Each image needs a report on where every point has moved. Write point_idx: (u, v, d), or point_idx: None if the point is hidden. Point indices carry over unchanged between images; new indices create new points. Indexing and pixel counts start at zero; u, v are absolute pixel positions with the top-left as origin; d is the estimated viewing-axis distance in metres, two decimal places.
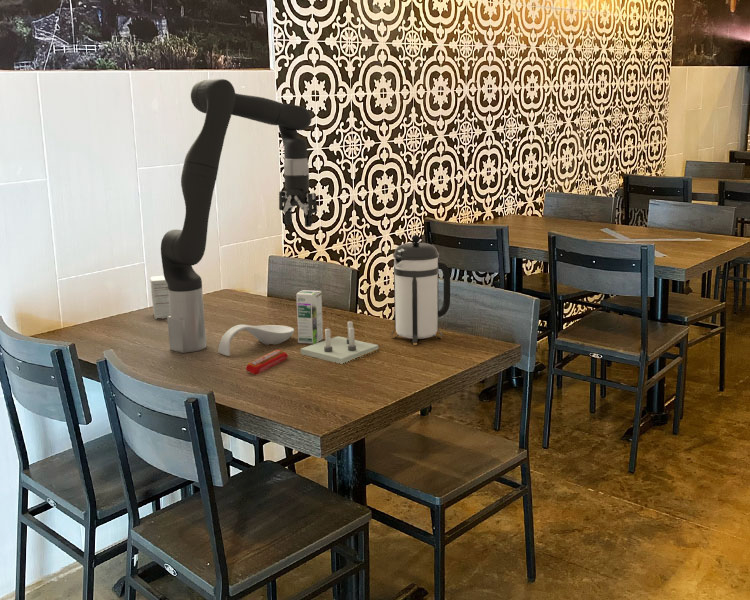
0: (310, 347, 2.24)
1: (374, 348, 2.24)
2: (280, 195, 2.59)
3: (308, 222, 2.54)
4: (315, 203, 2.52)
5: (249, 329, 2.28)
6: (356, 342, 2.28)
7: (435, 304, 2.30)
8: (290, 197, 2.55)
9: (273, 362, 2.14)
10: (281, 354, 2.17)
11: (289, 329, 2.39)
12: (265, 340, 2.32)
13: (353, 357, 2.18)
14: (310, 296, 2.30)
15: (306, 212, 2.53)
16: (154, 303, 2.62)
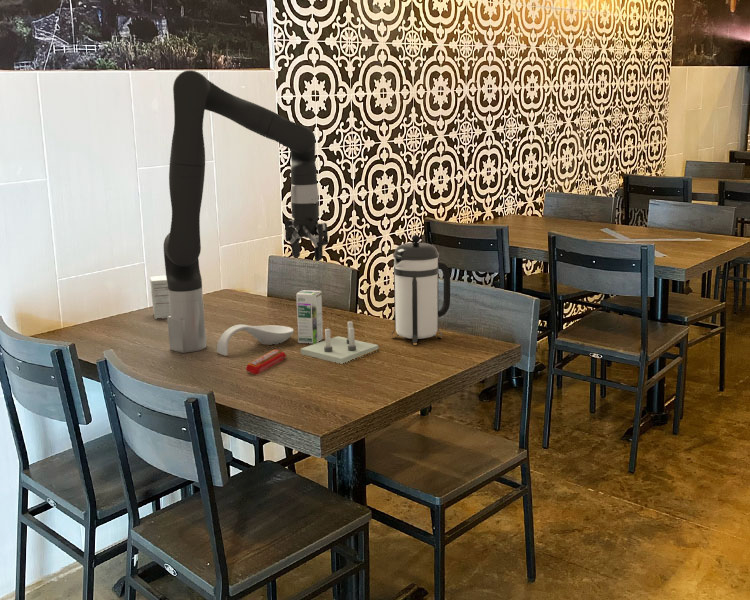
0: (310, 347, 2.24)
1: (374, 348, 2.24)
2: (286, 224, 2.31)
3: (318, 255, 2.26)
4: (326, 234, 2.25)
5: (247, 329, 2.28)
6: (356, 342, 2.28)
7: (435, 304, 2.30)
8: (298, 227, 2.27)
9: (272, 362, 2.14)
10: (280, 354, 2.17)
11: (289, 329, 2.38)
12: (264, 340, 2.31)
13: (353, 357, 2.18)
14: (310, 296, 2.30)
15: (316, 244, 2.25)
16: (154, 303, 2.62)
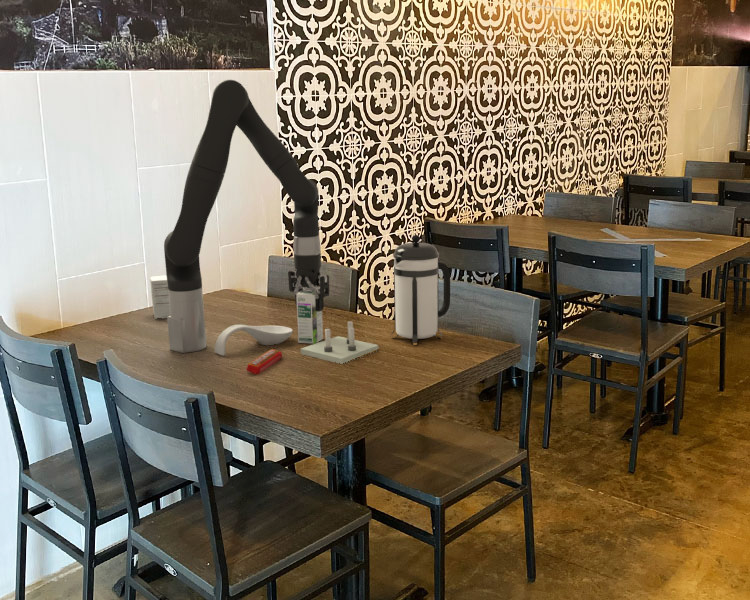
0: (310, 347, 2.24)
1: (374, 348, 2.24)
2: (289, 275, 2.35)
3: (319, 306, 2.30)
4: (327, 286, 2.28)
5: (246, 329, 2.28)
6: (356, 342, 2.28)
7: (435, 304, 2.30)
8: (300, 278, 2.31)
9: (271, 361, 2.14)
10: (277, 354, 2.18)
11: (288, 330, 2.38)
12: (262, 340, 2.31)
13: (353, 357, 2.18)
14: (310, 296, 2.30)
15: (317, 296, 2.29)
16: (154, 303, 2.62)
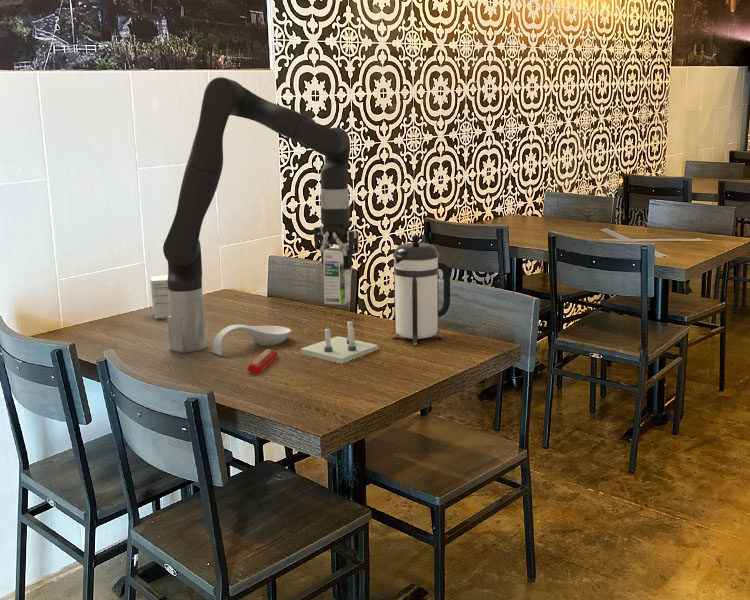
0: (310, 347, 2.24)
1: (374, 348, 2.24)
2: (315, 232, 2.20)
3: (348, 264, 2.16)
4: (357, 243, 2.14)
5: (243, 329, 2.28)
6: (356, 342, 2.28)
7: (435, 304, 2.30)
8: (327, 234, 2.16)
9: (269, 361, 2.14)
10: (274, 353, 2.18)
11: (287, 330, 2.37)
12: (260, 341, 2.31)
13: (353, 357, 2.18)
14: (338, 253, 2.15)
15: (345, 253, 2.15)
16: (154, 303, 2.62)
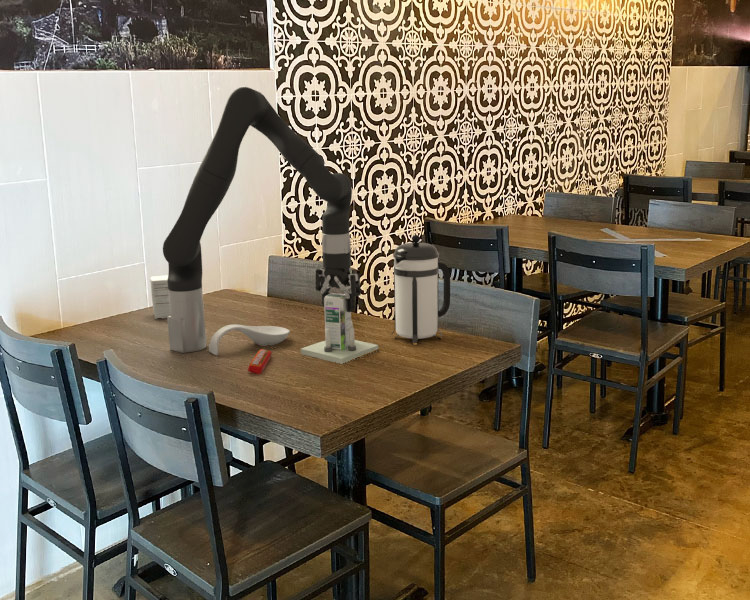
0: (310, 347, 2.24)
1: (374, 348, 2.24)
2: (317, 274, 2.23)
3: (350, 307, 2.18)
4: (359, 285, 2.16)
5: (240, 329, 2.28)
6: (356, 342, 2.28)
7: (435, 304, 2.30)
8: (329, 277, 2.19)
9: (267, 361, 2.15)
10: (269, 353, 2.19)
11: (285, 331, 2.37)
12: (257, 341, 2.31)
13: (353, 357, 2.18)
14: (338, 300, 2.18)
15: (348, 296, 2.17)
16: (154, 303, 2.62)
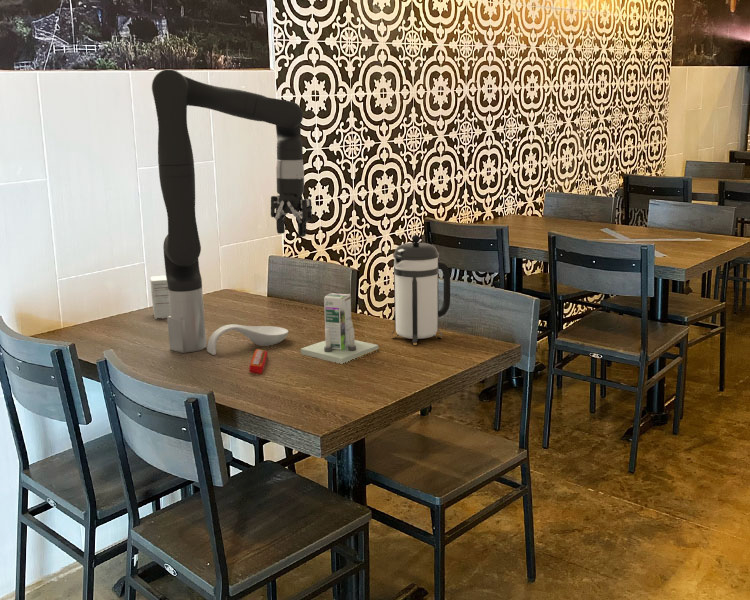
0: (310, 347, 2.24)
1: (374, 348, 2.24)
2: (272, 200, 2.31)
3: (302, 231, 2.26)
4: (310, 210, 2.24)
5: (238, 329, 2.28)
6: (356, 342, 2.28)
7: (435, 304, 2.30)
8: (282, 203, 2.27)
9: (265, 360, 2.15)
10: (266, 353, 2.19)
11: (284, 331, 2.36)
12: (256, 341, 2.31)
13: (353, 357, 2.18)
14: (338, 300, 2.18)
15: (300, 220, 2.25)
16: (154, 303, 2.62)
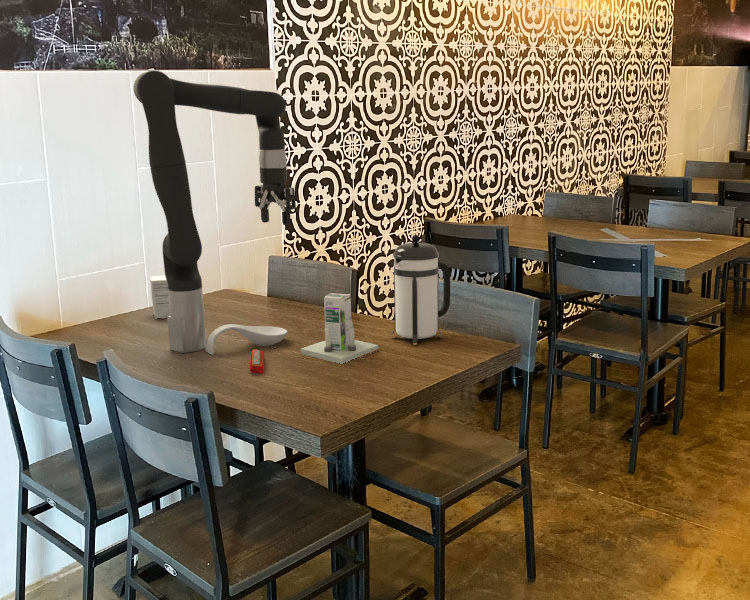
0: (310, 347, 2.24)
1: (374, 348, 2.24)
2: (256, 190, 2.35)
3: (286, 220, 2.30)
4: (293, 199, 2.29)
5: (236, 329, 2.28)
6: (356, 342, 2.28)
7: (435, 304, 2.30)
8: (266, 192, 2.31)
9: None
10: (263, 353, 2.19)
11: (284, 332, 2.36)
12: (254, 341, 2.31)
13: (353, 357, 2.18)
14: (338, 300, 2.18)
15: (284, 209, 2.29)
16: (154, 303, 2.62)
